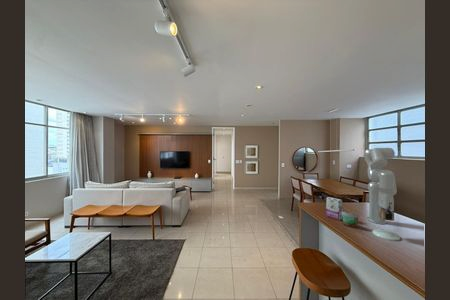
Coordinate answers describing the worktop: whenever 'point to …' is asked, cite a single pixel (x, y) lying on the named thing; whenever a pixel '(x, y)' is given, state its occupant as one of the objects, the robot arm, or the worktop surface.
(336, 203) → the candy bar box
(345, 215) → the food container
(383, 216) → the walnut block
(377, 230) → the dish
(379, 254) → the worktop surface
